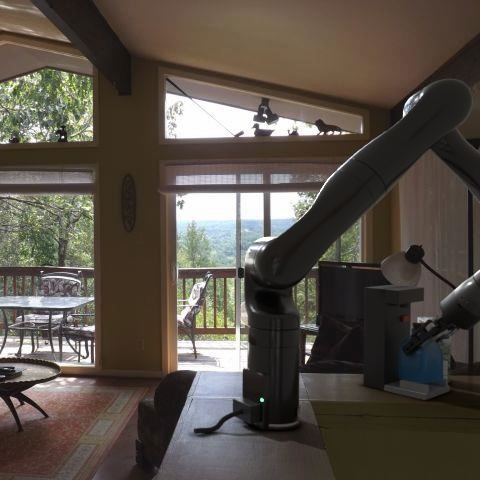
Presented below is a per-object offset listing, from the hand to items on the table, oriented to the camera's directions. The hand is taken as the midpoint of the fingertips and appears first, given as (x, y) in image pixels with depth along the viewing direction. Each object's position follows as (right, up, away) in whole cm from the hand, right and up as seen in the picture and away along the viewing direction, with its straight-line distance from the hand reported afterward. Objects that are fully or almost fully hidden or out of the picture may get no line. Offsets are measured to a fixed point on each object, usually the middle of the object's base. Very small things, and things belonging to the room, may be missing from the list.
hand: (414, 350), depth 125 cm
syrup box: (+8, -9, +9) cm, 15 cm away
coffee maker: (-1, -9, +2) cm, 9 cm away
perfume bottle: (+1, -6, -1) cm, 6 cm away
